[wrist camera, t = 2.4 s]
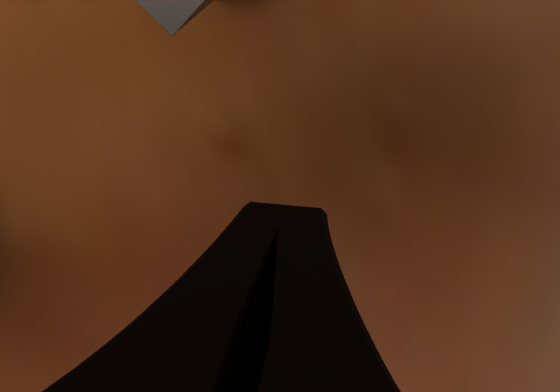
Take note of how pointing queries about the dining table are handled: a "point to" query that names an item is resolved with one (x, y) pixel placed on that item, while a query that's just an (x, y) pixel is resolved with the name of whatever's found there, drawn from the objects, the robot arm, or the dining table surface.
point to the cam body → (173, 12)
